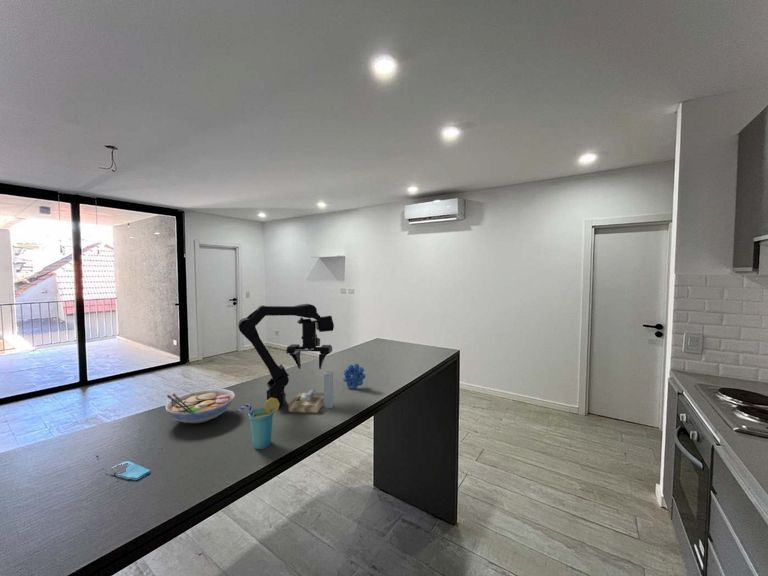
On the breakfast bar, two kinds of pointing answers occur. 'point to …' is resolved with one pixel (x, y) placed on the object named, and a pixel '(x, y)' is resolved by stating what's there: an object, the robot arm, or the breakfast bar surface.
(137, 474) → the sponge
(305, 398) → the ball
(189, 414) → the ramen bowl
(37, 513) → the breakfast bar surface
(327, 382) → the pull handle
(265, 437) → the cup
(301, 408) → the board
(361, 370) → the grapes
